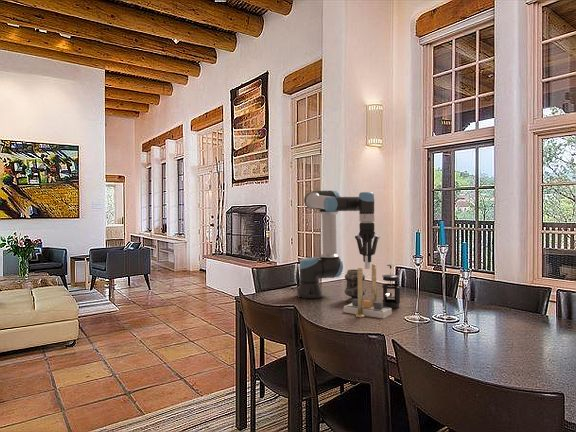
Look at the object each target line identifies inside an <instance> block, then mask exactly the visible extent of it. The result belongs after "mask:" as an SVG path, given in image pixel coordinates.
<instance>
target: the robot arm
mask: <svg viewBox="0 0 576 432" xmlns="http://www.w3.org/2000/svg"><path fill="white" fill-rule="evenodd" d="M303 203H304V205H305V207H307V208H308V209H310V210H319V214H321V222H322V223H321V224H322V225H321V227H322V228H321V229H322V235H321V236H322V254H320V259H319V257H317V256H316V257H315V256H314V257H313V256H311V257H306V258H303V259H301V260H300V262H299V267H298V268H299V285H298V289H297V292H296V297H297V296H299V297H302V298H301V299H304V298H310V300H311V298H315V299H319V298H322V297H323V292H322V289H321V286H320V282H319V281H320V280H321V279H329V278H331V279H334V278H339V277H340V276H341V275H342V272H343V269H344V263H343V260H342V258H340V255H339V254H338V253H337V252H338V251H337V214H338V213H339V212H358V213H359V217H358V218H359V220H358V221H359V224H358V225H359V233H358V234H357V235H355V236H354V238H355V240H356V244H357V249H358V253H359V255H361V256H362V258H363V260H362V261H363V263H364V269H365V270H369V269H371V262H372V256H375V254H376V250H377V245H378V243H379V240H380V238H381V237H380V236H379V235H377V234H376V231H375V223H374V222H375V194H374V193H373V192H371V191H362V192H359V195H358V196H341V194H340V193H339V192H338V191H337V190H312V191H308V192H307V193H306V194H305V196H304V198H303ZM319 279H320V280H319ZM299 297H298V298H299Z"/></svg>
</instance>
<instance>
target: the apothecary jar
mask: <svg viewBox="0 0 576 432" xmlns="http://www.w3.org/2000/svg"><path fill="white" fill-rule="evenodd" d="M344 279H345V280H346V287H345V289H344V290H343V291H344V294H345V295H346V296H349V298H348V299H346V302H347V303H350V304H351V303H352V299H358V268H357V269H354V268H353V269H347V271H346V274H344ZM362 279H363V281H364V280H365V279H366V275H365V274H364V273H363V271H362ZM365 294H366V288H365V287H363V296H364V295H365ZM364 300H365V299H363V301H364Z"/></svg>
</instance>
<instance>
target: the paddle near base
mask: <svg viewBox="0 0 576 432" xmlns="http://www.w3.org/2000/svg"><path fill="white" fill-rule="evenodd" d="M352 305H355V306H358V299H352Z"/></svg>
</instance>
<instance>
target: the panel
mask: <svg viewBox="0 0 576 432" xmlns="http://www.w3.org/2000/svg"><path fill="white" fill-rule="evenodd" d="M392 311H393V309H392V308H389V307H383V309H375V308H374V305H372V307H371V308H368V307H363V314H365V317H372V318H378V319H386V318H387V317H389V316H391V315H392V314H393V312H392ZM343 313H348V314H353V315H356V314H358V306H355V305H352V303H351V302H350V303H349V304H346V305H344V306H343Z"/></svg>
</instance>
